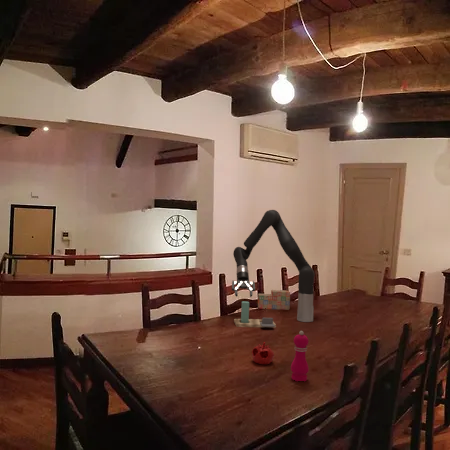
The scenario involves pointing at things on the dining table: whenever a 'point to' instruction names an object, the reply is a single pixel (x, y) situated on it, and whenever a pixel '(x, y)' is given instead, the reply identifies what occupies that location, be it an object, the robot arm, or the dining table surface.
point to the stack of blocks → (274, 300)
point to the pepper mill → (300, 358)
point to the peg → (245, 312)
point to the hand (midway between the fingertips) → (243, 296)
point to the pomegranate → (262, 354)
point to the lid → (267, 322)
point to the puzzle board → (250, 323)
